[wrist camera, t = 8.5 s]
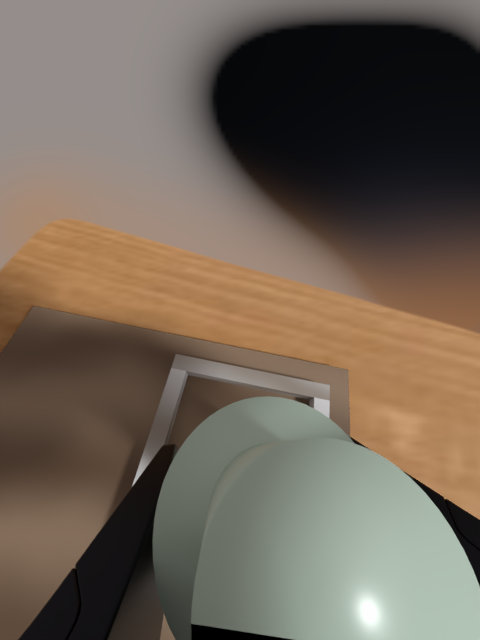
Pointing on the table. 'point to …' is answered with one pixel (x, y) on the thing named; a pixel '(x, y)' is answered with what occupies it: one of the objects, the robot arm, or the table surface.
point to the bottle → (302, 537)
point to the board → (109, 431)
